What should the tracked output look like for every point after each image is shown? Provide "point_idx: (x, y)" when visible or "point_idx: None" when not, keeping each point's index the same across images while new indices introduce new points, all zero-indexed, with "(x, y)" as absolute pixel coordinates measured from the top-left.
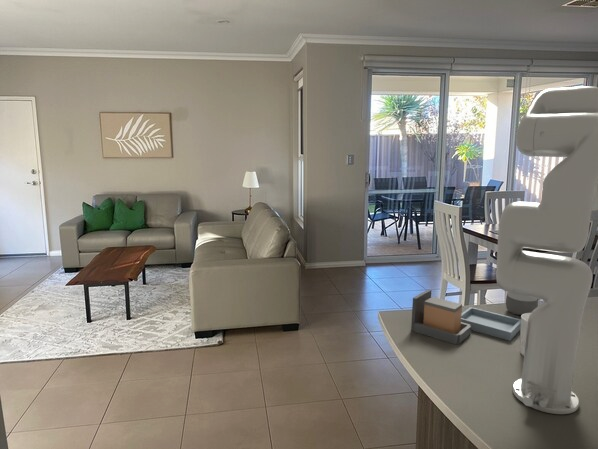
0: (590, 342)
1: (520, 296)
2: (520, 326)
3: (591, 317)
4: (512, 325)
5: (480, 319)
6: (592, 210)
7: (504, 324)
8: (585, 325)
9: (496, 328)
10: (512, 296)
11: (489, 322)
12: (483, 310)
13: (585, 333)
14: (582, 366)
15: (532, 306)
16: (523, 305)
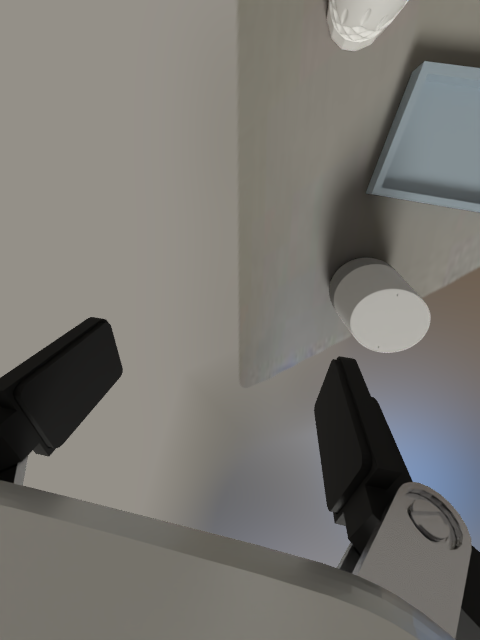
0: (241, 193)
1: (382, 267)
2: (375, 173)
3: (240, 317)
4: (392, 178)
5: (473, 172)
6: (85, 504)
7: (411, 173)
8: (248, 277)
9: (464, 67)
10: (397, 272)
11: (451, 163)
12: (467, 206)
13: (248, 237)
14: (256, 12)
15: (344, 269)
16: (366, 260)
